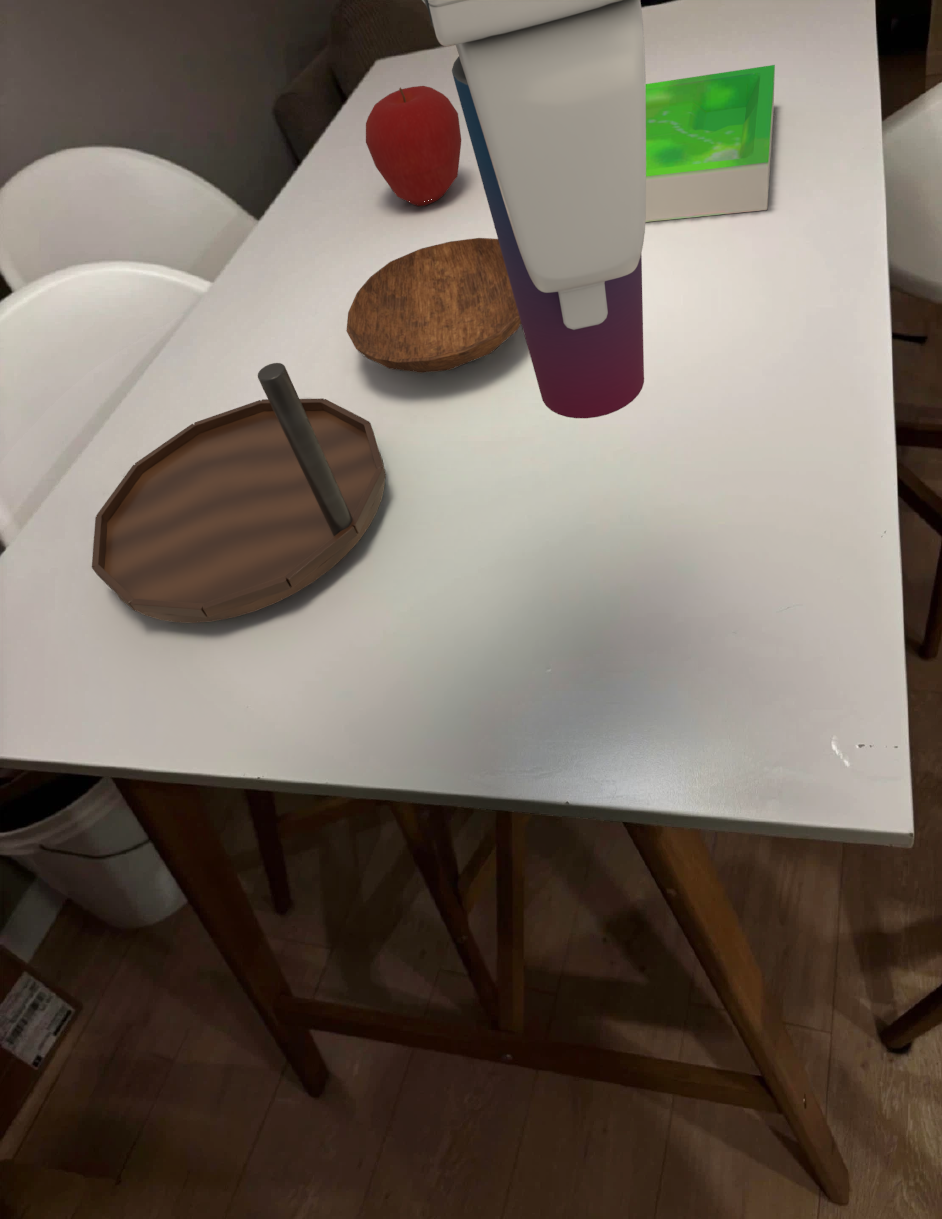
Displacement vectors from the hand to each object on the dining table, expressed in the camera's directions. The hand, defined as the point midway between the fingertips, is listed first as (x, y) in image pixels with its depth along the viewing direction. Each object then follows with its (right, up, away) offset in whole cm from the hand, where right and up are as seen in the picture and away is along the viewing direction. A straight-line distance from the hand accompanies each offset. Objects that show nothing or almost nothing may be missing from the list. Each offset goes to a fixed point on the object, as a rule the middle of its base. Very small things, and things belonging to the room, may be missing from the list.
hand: (574, 274), depth 39 cm
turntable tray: (-25, -6, +40) cm, 47 cm away
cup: (+1, -4, +5) cm, 6 cm away
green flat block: (+18, +38, +67) cm, 79 cm away
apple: (-10, +39, +76) cm, 86 cm away
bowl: (-6, +13, +53) cm, 55 cm away
